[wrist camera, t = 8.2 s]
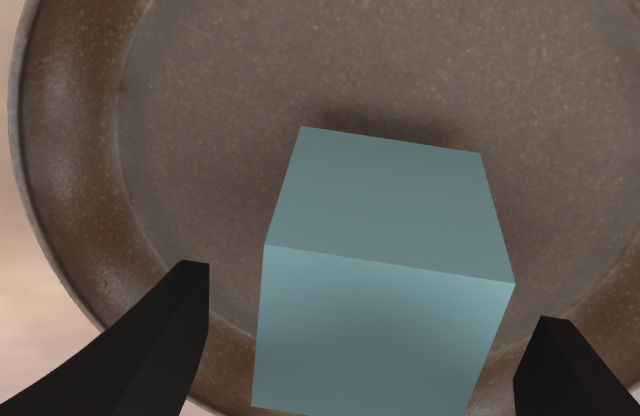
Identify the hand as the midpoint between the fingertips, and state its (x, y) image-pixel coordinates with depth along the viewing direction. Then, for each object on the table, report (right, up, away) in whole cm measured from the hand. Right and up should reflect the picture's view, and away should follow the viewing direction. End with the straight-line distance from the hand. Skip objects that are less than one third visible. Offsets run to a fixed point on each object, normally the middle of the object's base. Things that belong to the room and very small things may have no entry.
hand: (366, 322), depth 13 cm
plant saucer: (+1, +4, +6) cm, 7 cm away
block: (0, +2, +3) cm, 4 cm away
